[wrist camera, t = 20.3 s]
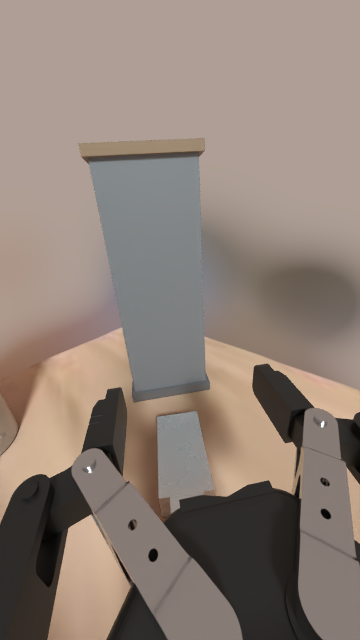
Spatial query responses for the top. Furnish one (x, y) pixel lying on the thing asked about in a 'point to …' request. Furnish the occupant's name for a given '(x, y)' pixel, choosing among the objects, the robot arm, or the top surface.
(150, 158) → the stand
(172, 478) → the grey rectangular bar
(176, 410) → the top surface
